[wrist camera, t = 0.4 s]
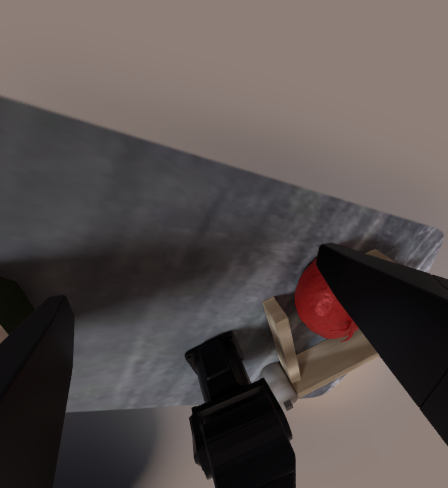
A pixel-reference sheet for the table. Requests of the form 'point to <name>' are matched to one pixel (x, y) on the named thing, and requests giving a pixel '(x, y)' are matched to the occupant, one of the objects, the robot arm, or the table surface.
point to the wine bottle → (12, 307)
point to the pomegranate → (321, 306)
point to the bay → (310, 357)
